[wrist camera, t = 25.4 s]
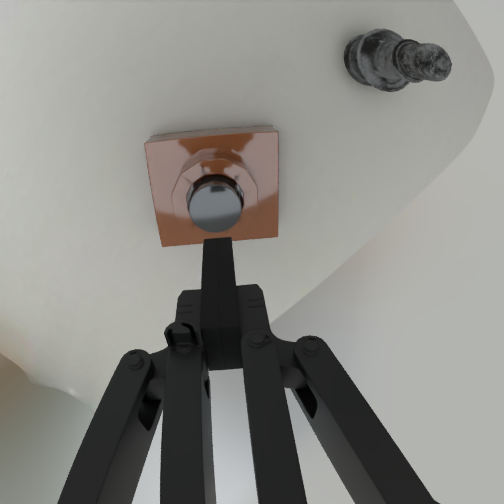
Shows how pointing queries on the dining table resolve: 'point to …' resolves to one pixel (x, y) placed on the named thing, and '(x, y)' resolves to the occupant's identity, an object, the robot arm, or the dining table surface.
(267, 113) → the dining table surface
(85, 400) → the dining table surface
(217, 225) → the button
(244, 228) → the brown square base plate
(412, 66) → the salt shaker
